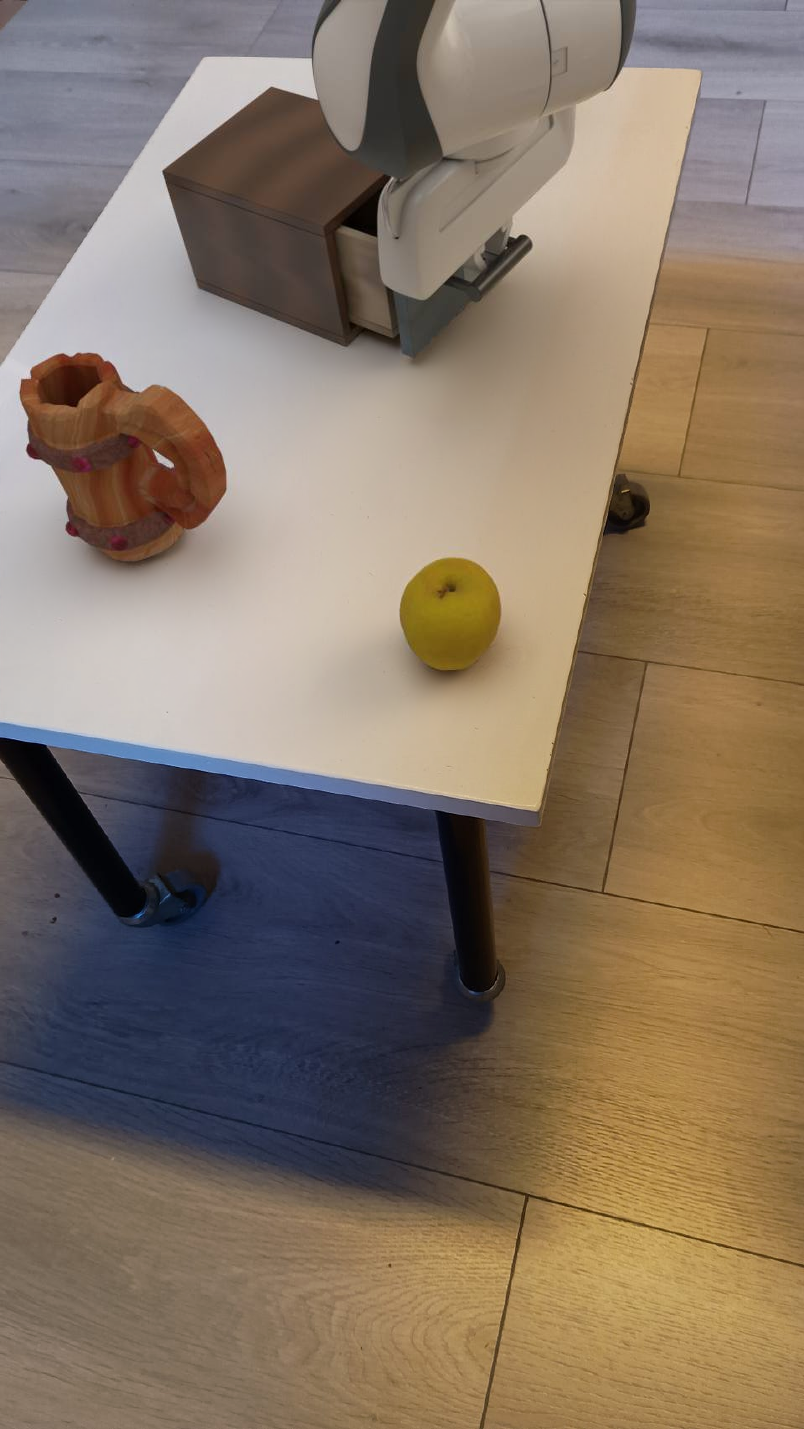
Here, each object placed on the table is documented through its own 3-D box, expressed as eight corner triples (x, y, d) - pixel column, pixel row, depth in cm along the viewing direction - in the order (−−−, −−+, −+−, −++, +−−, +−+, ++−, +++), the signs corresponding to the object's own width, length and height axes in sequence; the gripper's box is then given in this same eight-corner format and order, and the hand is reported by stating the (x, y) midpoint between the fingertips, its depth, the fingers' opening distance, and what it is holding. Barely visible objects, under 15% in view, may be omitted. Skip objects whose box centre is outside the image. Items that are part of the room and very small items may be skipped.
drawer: (552, 287, 91) (552, 184, 83) (465, 378, 86) (456, 277, 78) (356, 220, 99) (340, 121, 92) (266, 300, 94) (241, 202, 87)
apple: (429, 706, 71) (416, 630, 64) (392, 635, 74) (376, 555, 67) (520, 670, 71) (517, 590, 65) (480, 600, 75) (472, 518, 68)
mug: (55, 554, 82) (-34, 393, 69) (119, 479, 85) (45, 314, 73) (219, 614, 77) (154, 453, 64) (279, 532, 80) (229, 364, 68)
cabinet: (443, 254, 96) (431, 131, 87) (346, 346, 91) (323, 226, 82) (295, 204, 103) (271, 85, 94) (197, 287, 98) (161, 170, 89)
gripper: (420, 193, 69) (440, 371, 81) (592, 36, 77) (588, 219, 88) (341, 168, 72) (371, 344, 83) (516, 19, 80) (522, 199, 91)
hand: (484, 279), depth 86 cm, fingers closed, pressing on drawer
